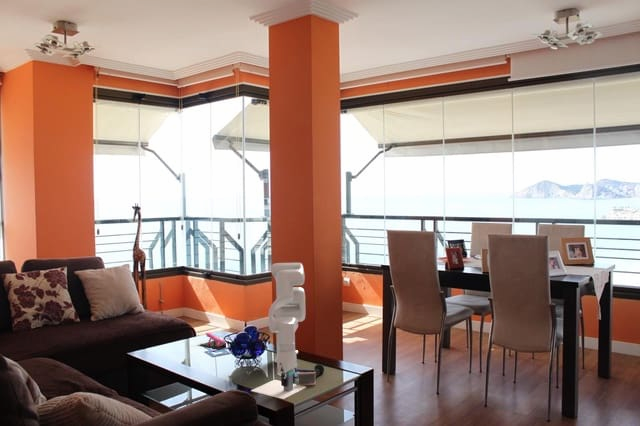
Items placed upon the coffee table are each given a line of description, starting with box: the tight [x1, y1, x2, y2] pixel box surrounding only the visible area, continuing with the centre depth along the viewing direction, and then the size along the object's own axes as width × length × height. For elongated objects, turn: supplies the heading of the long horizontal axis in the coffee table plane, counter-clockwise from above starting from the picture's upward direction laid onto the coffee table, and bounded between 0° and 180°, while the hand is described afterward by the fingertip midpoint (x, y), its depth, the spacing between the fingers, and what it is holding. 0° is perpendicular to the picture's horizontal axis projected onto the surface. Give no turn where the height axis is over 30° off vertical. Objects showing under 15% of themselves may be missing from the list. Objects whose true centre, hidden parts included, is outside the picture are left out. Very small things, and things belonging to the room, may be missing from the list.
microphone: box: [313, 363, 325, 378], centre depth 282 cm, size 5×5×19 cm
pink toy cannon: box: [198, 331, 226, 351], centre depth 347 cm, size 15×20×7 cm
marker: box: [284, 369, 294, 392], centre depth 264 cm, size 3×3×10 cm
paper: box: [250, 379, 307, 400], centre depth 267 cm, size 18×20×1 cm
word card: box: [296, 371, 317, 386], centre depth 272 cm, size 1×9×6 cm, turn 95°
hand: (288, 383), depth 265 cm, fingers open, 5 cm apart
